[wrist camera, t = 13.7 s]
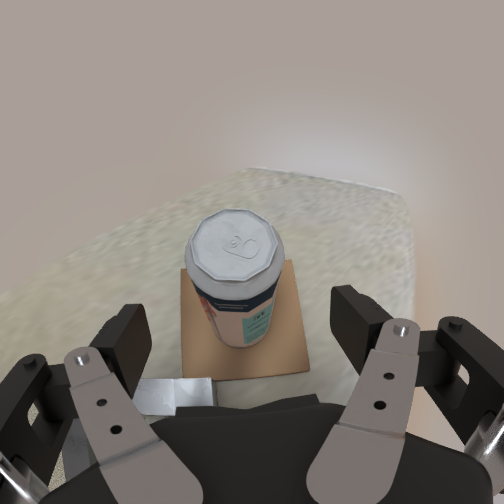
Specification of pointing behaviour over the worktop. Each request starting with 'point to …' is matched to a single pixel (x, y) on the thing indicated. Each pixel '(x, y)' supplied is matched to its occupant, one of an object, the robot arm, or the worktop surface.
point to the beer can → (236, 273)
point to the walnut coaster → (248, 358)
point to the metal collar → (148, 403)
